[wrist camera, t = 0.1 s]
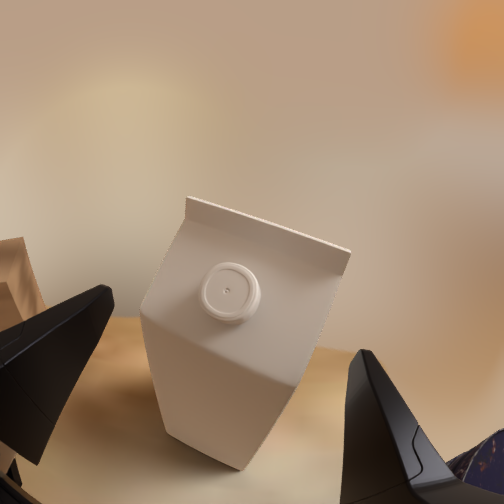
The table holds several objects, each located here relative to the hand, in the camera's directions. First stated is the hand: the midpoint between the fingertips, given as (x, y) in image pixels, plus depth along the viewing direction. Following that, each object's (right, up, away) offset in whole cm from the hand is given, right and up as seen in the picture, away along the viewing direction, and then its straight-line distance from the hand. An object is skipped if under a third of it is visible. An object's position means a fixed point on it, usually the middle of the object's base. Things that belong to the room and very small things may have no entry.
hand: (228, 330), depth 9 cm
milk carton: (-2, -12, +12) cm, 17 cm away
